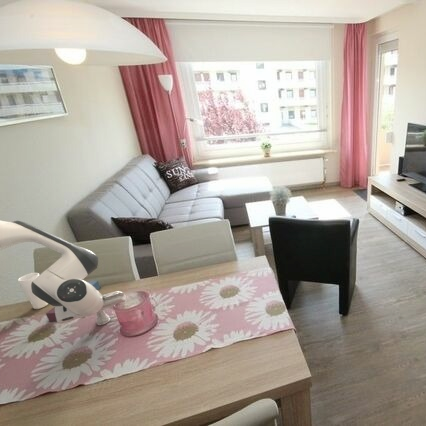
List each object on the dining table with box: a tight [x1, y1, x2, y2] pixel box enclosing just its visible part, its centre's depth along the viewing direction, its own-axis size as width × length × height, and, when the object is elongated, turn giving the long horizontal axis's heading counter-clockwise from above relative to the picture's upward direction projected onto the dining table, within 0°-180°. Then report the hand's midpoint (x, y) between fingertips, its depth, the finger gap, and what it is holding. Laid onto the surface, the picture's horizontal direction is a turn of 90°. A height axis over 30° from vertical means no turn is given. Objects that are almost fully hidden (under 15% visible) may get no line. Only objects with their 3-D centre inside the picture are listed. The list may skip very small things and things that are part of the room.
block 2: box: [87, 280, 101, 291], centre depth 138 cm, size 4×4×4 cm
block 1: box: [45, 306, 57, 322], centre depth 120 cm, size 4×4×4 cm
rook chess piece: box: [95, 310, 111, 326], centre depth 115 cm, size 4×4×8 cm
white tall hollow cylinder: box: [17, 272, 49, 310], centre depth 127 cm, size 7×7×15 cm
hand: (98, 311), depth 112 cm, fingers open, 8 cm apart
